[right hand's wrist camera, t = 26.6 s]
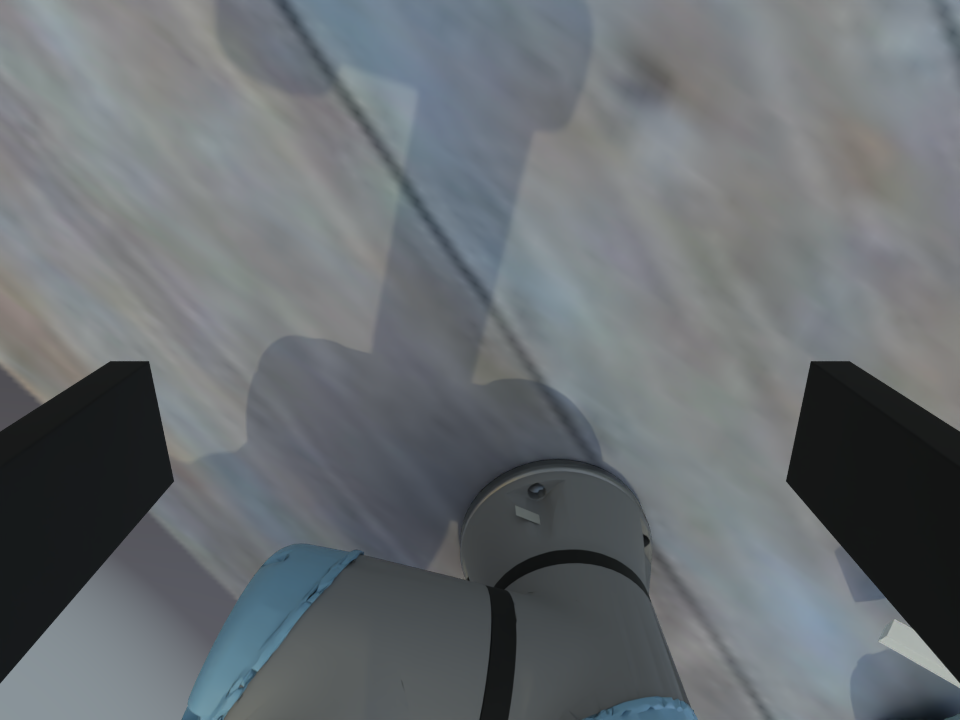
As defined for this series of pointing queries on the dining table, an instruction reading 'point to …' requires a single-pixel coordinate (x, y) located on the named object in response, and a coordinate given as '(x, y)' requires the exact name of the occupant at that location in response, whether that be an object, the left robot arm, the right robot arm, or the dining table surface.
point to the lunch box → (954, 717)
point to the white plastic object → (914, 649)
